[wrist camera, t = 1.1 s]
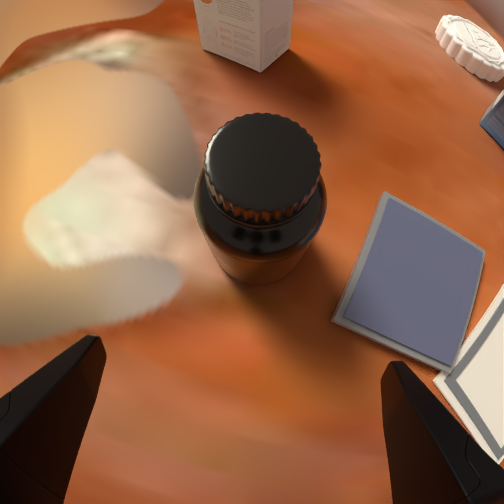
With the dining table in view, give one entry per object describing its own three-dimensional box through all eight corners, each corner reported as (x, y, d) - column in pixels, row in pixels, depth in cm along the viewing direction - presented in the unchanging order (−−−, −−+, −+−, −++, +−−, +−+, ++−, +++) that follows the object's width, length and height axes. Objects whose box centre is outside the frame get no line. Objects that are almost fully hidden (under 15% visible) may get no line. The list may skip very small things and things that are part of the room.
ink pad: (444, 372, 21) (452, 373, 20) (330, 320, 22) (334, 319, 21) (479, 253, 24) (487, 250, 22) (380, 196, 25) (385, 189, 24)
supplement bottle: (198, 268, 24) (146, 203, 12) (231, 188, 25) (215, 79, 14) (287, 300, 23) (320, 262, 11) (315, 215, 25) (359, 120, 13)
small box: (290, 49, 30) (298, -30, 19) (260, 75, 28) (261, -12, 18) (232, 26, 31) (227, -47, 21) (200, 49, 30) (187, -29, 20)
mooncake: (510, 94, 30) (522, 80, 26) (444, 64, 30) (454, 46, 27) (487, 45, 33) (496, 32, 29) (426, 18, 33) (434, 2, 30)
